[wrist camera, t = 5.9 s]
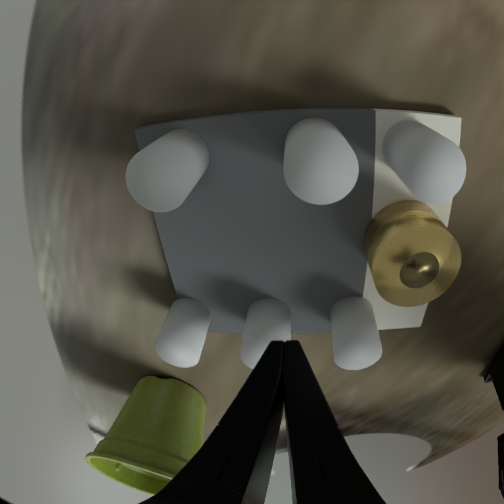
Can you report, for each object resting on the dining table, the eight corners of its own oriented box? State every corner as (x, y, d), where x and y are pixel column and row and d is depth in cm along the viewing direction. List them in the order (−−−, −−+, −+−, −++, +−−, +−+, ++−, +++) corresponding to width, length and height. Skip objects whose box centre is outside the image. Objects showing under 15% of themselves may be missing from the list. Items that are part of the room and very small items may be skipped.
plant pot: (147, 344, 21) (105, 450, 14) (249, 401, 24) (234, 500, 17) (107, 382, 26) (73, 460, 19) (189, 427, 29) (170, 502, 21)
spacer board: (455, 115, 11) (498, 135, 8) (418, 319, 17) (433, 365, 14) (126, 129, 13) (83, 152, 10) (180, 323, 20) (163, 368, 17)
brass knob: (447, 200, 13) (471, 228, 10) (431, 271, 15) (448, 305, 13) (366, 198, 13) (380, 228, 11) (359, 273, 15) (368, 309, 13)
